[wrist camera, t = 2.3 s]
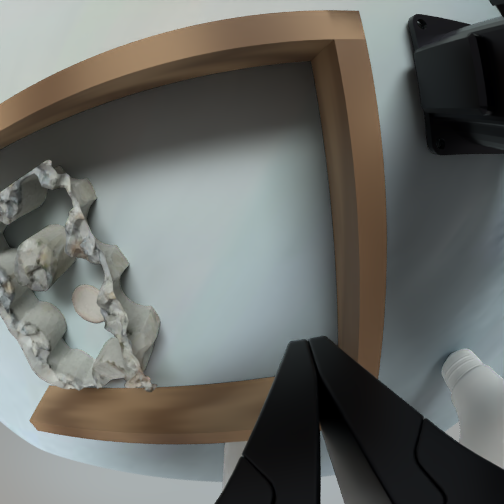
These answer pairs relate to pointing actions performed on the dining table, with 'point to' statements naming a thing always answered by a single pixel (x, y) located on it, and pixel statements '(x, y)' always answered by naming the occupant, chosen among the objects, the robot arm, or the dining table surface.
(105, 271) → the egg carton
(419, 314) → the dining table surface
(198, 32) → the open wooden frame
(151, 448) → the dining table surface
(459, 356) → the lightbulb
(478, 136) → the robot arm
